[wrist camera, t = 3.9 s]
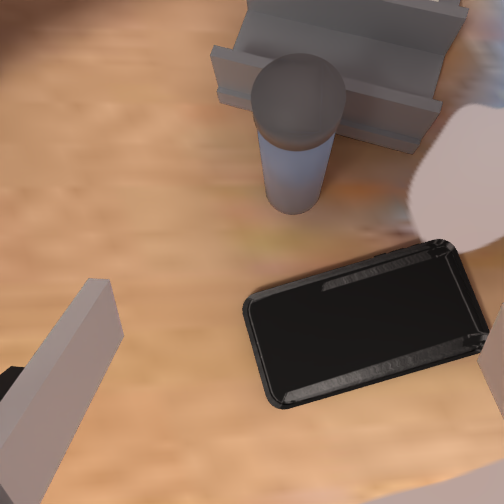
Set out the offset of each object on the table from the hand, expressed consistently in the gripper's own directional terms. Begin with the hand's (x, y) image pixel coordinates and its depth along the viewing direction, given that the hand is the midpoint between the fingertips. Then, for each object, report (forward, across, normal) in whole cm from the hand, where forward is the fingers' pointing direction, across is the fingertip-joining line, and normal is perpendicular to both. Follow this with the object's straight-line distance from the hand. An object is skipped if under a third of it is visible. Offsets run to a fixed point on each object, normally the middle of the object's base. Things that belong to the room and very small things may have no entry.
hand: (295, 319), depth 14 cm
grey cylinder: (+17, 0, -3) cm, 17 cm away
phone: (+11, +5, -10) cm, 15 cm away
